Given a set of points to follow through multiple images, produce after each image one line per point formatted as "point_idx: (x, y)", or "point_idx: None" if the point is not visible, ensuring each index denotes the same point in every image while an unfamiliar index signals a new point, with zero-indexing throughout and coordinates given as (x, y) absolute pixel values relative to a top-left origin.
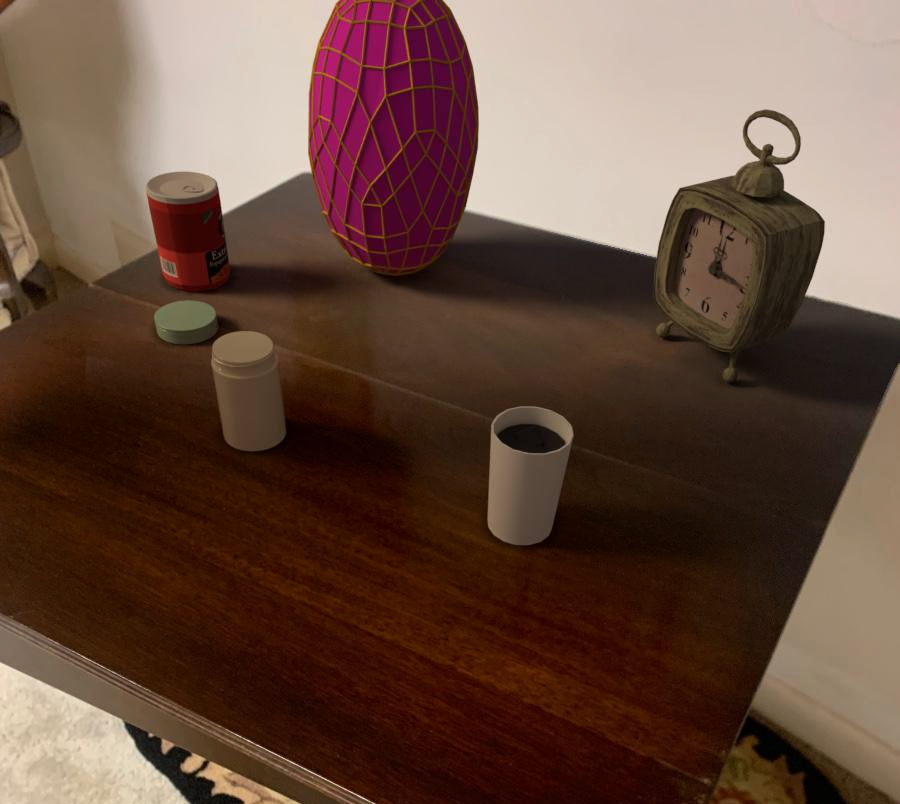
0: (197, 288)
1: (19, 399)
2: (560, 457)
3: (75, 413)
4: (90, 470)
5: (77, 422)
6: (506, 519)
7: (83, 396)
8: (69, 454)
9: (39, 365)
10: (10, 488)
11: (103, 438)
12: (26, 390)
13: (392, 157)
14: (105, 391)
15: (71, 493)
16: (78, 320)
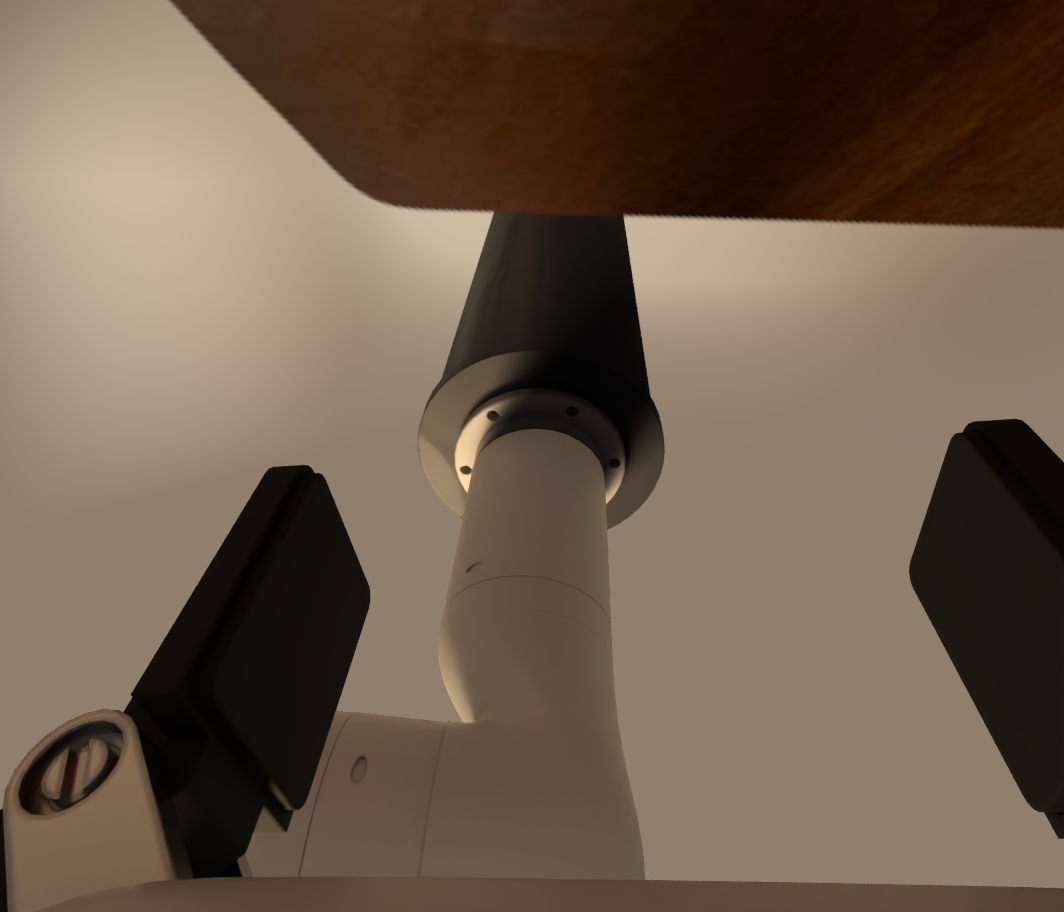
0: None
1: (616, 197)
2: None
3: (710, 87)
4: (927, 70)
5: (745, 85)
6: None
7: (651, 64)
8: (848, 110)
9: (501, 153)
10: (890, 222)
11: (831, 30)
12: (589, 183)
13: None
14: (649, 7)
15: (975, 115)
16: (318, 50)
